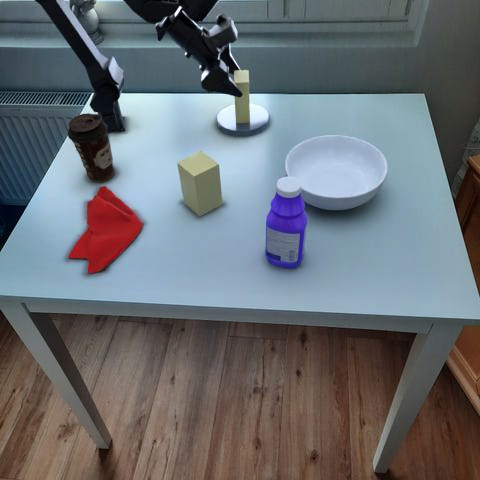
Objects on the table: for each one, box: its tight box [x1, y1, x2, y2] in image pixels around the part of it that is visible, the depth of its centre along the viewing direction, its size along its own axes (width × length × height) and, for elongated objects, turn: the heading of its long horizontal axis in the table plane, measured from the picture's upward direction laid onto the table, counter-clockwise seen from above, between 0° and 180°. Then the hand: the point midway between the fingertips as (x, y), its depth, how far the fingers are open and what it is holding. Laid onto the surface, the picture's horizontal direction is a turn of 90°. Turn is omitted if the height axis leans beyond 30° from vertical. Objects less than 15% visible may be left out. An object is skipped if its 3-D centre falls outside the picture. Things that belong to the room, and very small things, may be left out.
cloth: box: [67, 185, 144, 275], centre depth 96 cm, size 26×14×2 cm, turn 177°
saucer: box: [216, 103, 270, 138], centre depth 119 cm, size 13×13×2 cm
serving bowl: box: [284, 134, 389, 211], centre depth 99 cm, size 21×21×7 cm
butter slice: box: [233, 69, 251, 123], centre depth 114 cm, size 4×6×10 cm, turn 0°
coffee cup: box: [67, 112, 116, 183], centre depth 103 cm, size 9×8×13 cm
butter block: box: [176, 150, 224, 217], centre depth 97 cm, size 6×6×10 cm
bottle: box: [264, 176, 308, 269], centre depth 83 cm, size 7×6×17 cm
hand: (241, 86), depth 112 cm, fingers open, 9 cm apart
